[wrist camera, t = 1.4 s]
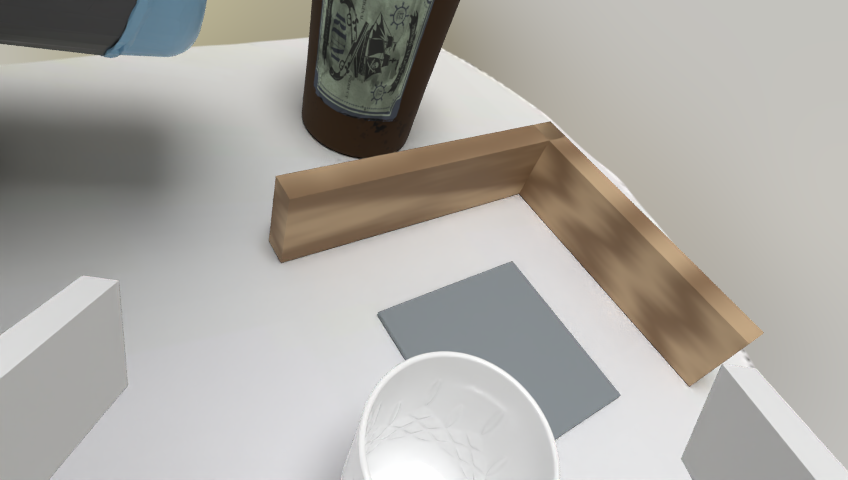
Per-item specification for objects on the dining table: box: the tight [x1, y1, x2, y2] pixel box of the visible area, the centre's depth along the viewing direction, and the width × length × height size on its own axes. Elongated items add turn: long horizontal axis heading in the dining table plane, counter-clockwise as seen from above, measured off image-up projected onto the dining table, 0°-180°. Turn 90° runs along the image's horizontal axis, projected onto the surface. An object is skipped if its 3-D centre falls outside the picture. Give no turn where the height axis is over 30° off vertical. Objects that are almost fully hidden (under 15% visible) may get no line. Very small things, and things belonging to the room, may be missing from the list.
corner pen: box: [269, 122, 763, 387], centre depth 36 cm, size 22×24×6 cm
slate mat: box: [377, 261, 620, 439], centre depth 35 cm, size 12×12×1 cm
